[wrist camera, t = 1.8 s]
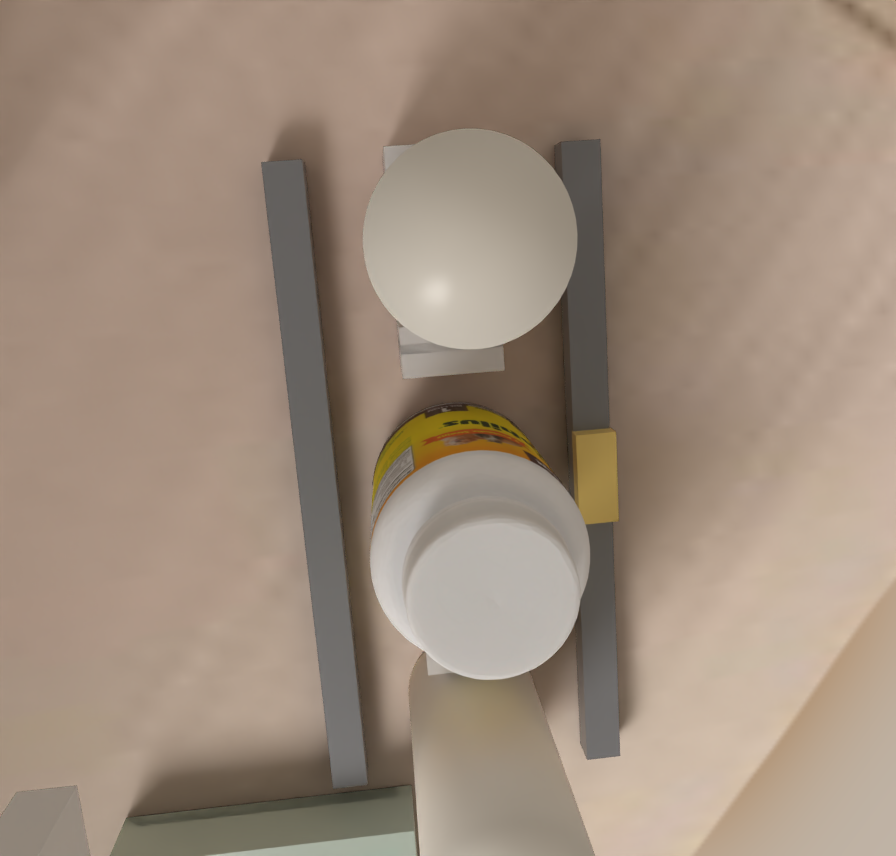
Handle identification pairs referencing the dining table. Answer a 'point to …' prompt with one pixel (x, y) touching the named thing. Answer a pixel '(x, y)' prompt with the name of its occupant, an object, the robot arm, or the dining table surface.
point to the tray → (281, 828)
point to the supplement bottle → (475, 543)
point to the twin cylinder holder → (450, 353)
